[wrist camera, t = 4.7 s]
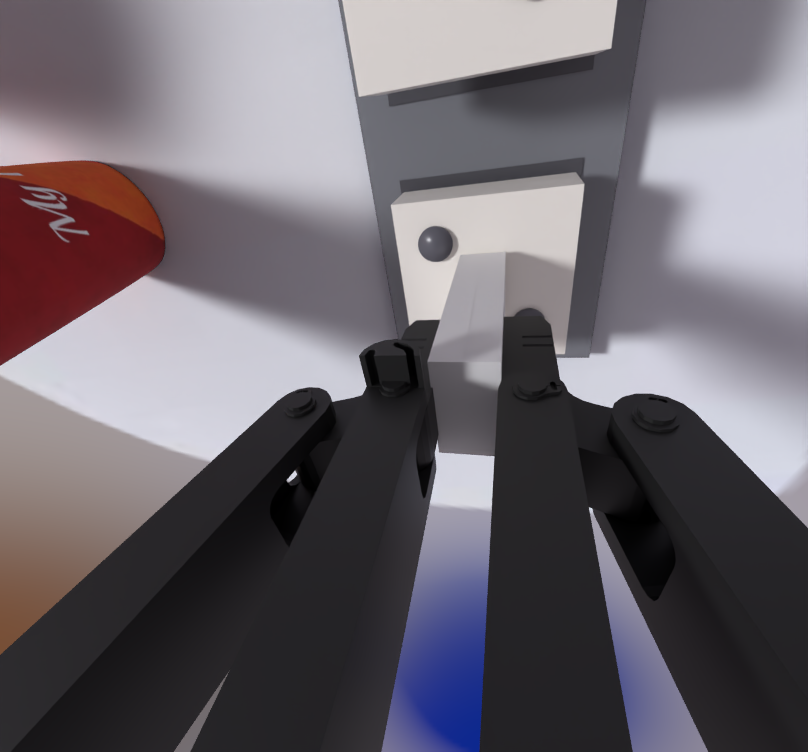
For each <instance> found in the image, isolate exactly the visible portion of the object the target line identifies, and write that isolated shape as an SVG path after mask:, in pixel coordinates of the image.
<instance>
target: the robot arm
mask: <svg viewBox="0 0 808 752" xmlns="http://www.w3.org/2000/svg"><path fill="white" fill-rule="evenodd" d="M505 259H506V252H496V253H481V254H467V255H460V258H459V261H458V264H457V268H456V271H455V274H454V277H453V281H452V284H451V287H450V290H449V294H448V297H447V300H446V303H445V307H444V310H443V313H442V316H441V319H440V320H416V321H415V322H413V323H412V324H411V325H410V326H409V327H407V328H406V329H405V331H404V334H403V336H402V338H401V340H400V339H393V340H385V341H382V342H378V343H375V344H373V345H371V346H369V347H368V348H366V349H364V351H363V352H362V353H361V354H360V355H359V358H360V362H361V366H362V370H363V374H364V377H365V381H366V385H367V387H366V389H365V391H364V393H363V395H362V396H358V397H355V398H350V399H345V400H340V401H335V402H332V400H331V397H330V395H329V394H328V393H327V391H325V390H323V389H320V388H311V387H309V388H303V389H298V390H296V391H293V392H291V393H289V394H287V395H285V396H284V397H283V398H281V399H280V400H278V401H277V402H276V403H275V404H274V405H273V406H272V407H271V408H270V409H269V410H267V411H266V412H265V413H264V414H263V415H262V416H261V417H260V418H259V419H258V420H257V421H255V422H254V423H253V424H252V425H251V426H250V427H249V428H248V429H247V430H246V431H245V432H243V433H242V434H241V435H240V436H239V437H238V438H237V439H236V440H235V441H234V442H233V443H231V444H230V445H229V446H228V447H227V448H226V449H225V450H224V451H223V452H222V453H220V454H219V455H218V456H217V457H216V458H215V459H214V460H213V461H212V462H211V463H210V464H208V466H206V467H205V468H204V469H203V470H202V471H201V472H200V473H199V474H198V475H197V476H195V477H194V478H193V479H192V480H191V481H190V482H189V483H188V484H187V485H186V486H184V487H183V488H182V489H181V490H180V491H179V492H178V493H177V494H176V495H175V496H173V497H172V498H171V499H170V500H169V501H168V502H167V503H166V504H165V505H164V506H163V507H162V508H160V509H159V510H158V511H157V512H156V513H155V514H154V515H153V516H152V517H151V518H149V519H148V520H147V521H146V522H145V523H144V524H143V525H142V526H141V527H140V528H138V529H137V530H136V531H135V532H134V533H133V534H132V535H131V536H130V537H129V538H128V539H126V541H124V542H123V543H122V544H121V545H120V546H119V547H118V548H117V549H116V550H114V551H113V552H112V553H111V554H110V555H109V556H108V557H107V558H106V559H105V560H103V561H102V562H101V563H100V564H99V565H98V566H97V567H96V568H95V569H94V570H93V571H92V572H90V573H89V574H88V575H87V576H86V577H85V578H84V579H83V580H82V581H81V582H79V583H78V585H76V586H75V587H74V588H73V589H72V590H71V591H70V592H69V593H67V594H66V595H65V596H64V597H63V598H62V599H61V600H60V601H59V602H58V603H56V604H55V605H54V606H53V607H52V608H51V609H50V610H49V611H48V612H47V613H46V614H44V615H43V616H42V617H41V618H40V619H39V620H38V621H37V622H36V623H35V624H34V625H32V626H31V627H30V628H29V629H28V630H27V631H26V632H25V633H24V634H23V635H22V636H20V638H18V639H17V640H16V641H15V642H14V643H13V644H12V645H11V646H9V647H8V648H7V649H6V650H5V651H4V652H3V653H2V654H1V655H0V752H174V750H175V749H176V747H177V746H178V745H179V743H180V742H181V740H182V739H183V737H184V736H185V734H186V733H187V731H188V730H189V728H190V727H191V726H192V724H193V723H194V721H195V720H196V718H197V717H198V715H199V714H200V712H201V711H202V710H203V708H204V707H205V705H206V704H207V702H208V701H209V699H210V698H211V696H212V695H213V693H214V692H215V691H216V689H217V688H218V686H219V685H220V683H221V682H222V680H223V679H224V678H225V676H226V675H227V673H228V672H229V673H228V675H227V677H226V679H225V682H224V683H223V685H222V687H221V690H220V692H219V694H218V696H217V698H216V700H215V702H214V704H213V706H212V708H211V710H210V712H209V714H208V717H207V719H206V721H205V723H204V725H203V727H202V729H201V731H200V734H199V735H198V737H197V739H196V742H195V744H194V746H193V748H192V750H191V752H381V750H382V745H383V740H384V735H385V730H386V725H387V719H388V714H389V709H390V704H391V699H392V693H393V689H394V684H395V679H396V673H397V668H398V663H399V658H400V653H401V648H402V642H403V638H404V632H405V627H406V622H407V617H408V612H409V606H410V602H411V597H412V591H413V586H414V581H415V575H416V571H417V566H418V560H419V555H420V550H421V545H422V540H423V535H424V530H425V525H426V520H427V514H428V509H429V504H430V499H431V494H432V489H433V484H434V479H435V473H436V460H435V449H436V444H437V439H438V447H439V452H442V453H456V454H471V455H486V456H495V458H494V478H493V497H492V518H491V538H490V556H489V557H490V558H489V576H488V596H487V615H486V636H485V654H484V674H483V693H482V694H483V695H482V713H481V714H482V715H481V733H480V752H633V751H632V745H631V740H630V734H629V729H628V723H627V718H626V712H625V706H624V701H623V695H622V690H621V685H620V679H619V674H618V668H617V662H616V656H615V652H614V646H613V640H612V635H611V629H610V623H609V617H608V612H607V607H606V601H605V595H604V590H603V584H602V578H601V573H600V567H599V562H598V557H597V551H596V545H595V540H594V534H593V529H592V523H591V517H590V512H589V507H590V508H592V509H593V513H594V515H595V518H596V520H597V522H598V524H599V526H600V528H601V530H602V532H603V534H604V536H605V538H606V540H607V542H608V545H609V547H610V549H611V551H612V553H613V555H614V557H615V559H616V561H617V563H618V565H619V567H620V569H621V571H622V574H623V575H624V578H625V580H626V582H627V584H628V586H629V588H630V590H631V592H632V594H633V596H634V598H635V601H636V603H637V605H638V607H639V609H640V611H641V613H642V615H643V617H644V619H645V621H646V623H647V625H648V628H649V630H650V632H651V634H652V636H653V638H654V640H655V642H656V644H657V646H658V648H659V650H660V652H661V654H662V657H663V659H664V661H665V663H666V665H667V667H668V669H669V671H670V673H671V675H672V677H673V679H674V681H675V683H676V686H677V688H678V690H679V692H680V694H681V696H682V698H683V700H684V702H685V704H686V706H687V708H688V710H689V712H690V715H691V717H692V719H693V721H694V723H695V725H696V727H697V729H698V731H699V733H700V735H701V737H702V740H703V742H704V744H705V746H706V748H707V750H708V752H808V528H807V527H806V526H805V525H804V524H803V523H802V522H801V521H800V520H799V519H798V518H797V517H796V516H795V514H794V513H793V512H792V511H791V510H790V509H789V508H788V507H787V506H786V505H785V504H784V503H783V502H782V501H781V500H780V499H779V498H778V497H777V496H776V495H775V494H774V493H773V492H772V491H771V490H770V489H769V488H768V487H767V486H766V485H765V484H764V483H763V482H762V481H761V480H760V479H759V478H758V477H757V475H756V474H755V473H754V472H753V471H752V470H751V469H750V468H749V467H748V466H747V465H746V464H745V463H744V462H743V461H742V460H741V459H740V458H739V457H738V456H737V455H736V454H735V453H734V452H733V451H732V450H731V449H730V448H729V447H728V446H727V445H726V444H725V443H724V442H723V441H722V440H721V439H720V438H719V437H718V436H717V435H716V433H715V432H714V431H713V430H712V429H711V428H710V427H709V426H708V425H707V424H706V423H705V422H704V421H703V420H702V419H701V418H700V417H699V416H698V415H697V414H696V413H695V412H694V411H692V410H691V409H690V408H688V407H687V406H685V405H684V404H682V403H680V402H678V401H675V400H673V399H671V398H668V397H664V396H659V395H654V394H633V395H629V396H625V397H622V398H621V399H619V400H618V401H617V402H616V403H614V406H613V408H609V407H604V406H600V405H596V404H592V403H589V402H586V401H583V400H581V399H579V398H577V397H574V396H573V395H572V394H570V393H569V392H568V390H567V388H566V386H565V384H564V383H563V382H562V381H561V380H560V377H559V371H558V365H557V359H556V353H555V347H554V341H553V335H552V329H551V324H550V323H548V322H547V321H546V320H545V319H544V318H543V317H542V316H513V317H505ZM294 471H296V473H297V476H296V477H295V478H294V479H293V480H292V481H290V482H287V481H286V480H287V479H288V478H289V477H290V475H291V474H292V473H293V472H294ZM229 670H230V671H229Z"/></svg>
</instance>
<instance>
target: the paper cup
mask: <svg viewBox="0 0 808 752" xmlns="http://www.w3.org/2000/svg"><path fill="white" fill-rule="evenodd" d="M164 252H165V237H164V232H163V229H162V226H161V223H160V220H159V218H158V216H157V214H156V212H155V210H154V209H153V207H152V205H151V204H150V202H149V201H148V199H147V198H146V197H145V196H144V194H143V193H142V192H141V191H140V190H139V189H138V187H137V186H136V185H135V184H134V183H132V182H131V181H130V180H129V179H128V178H127V177H125V176H124V175H123V174H121V173H120V172H118V171H117V170H115V169H113V168H112V167H109V166H107V165H105V164H102V163H99V162H95V161H62V162H48V163H35V164H23V165H12V166H0V365H2V364H4V363H5V362H7V361H9V360H10V359H12V358H13V357H15V356H17V355H18V354H20V353H22V352H23V351H25V350H26V349H28V348H30V347H31V346H33V345H34V344H36V343H38V342H39V341H41V340H43V339H44V338H46V337H47V336H49V335H51V334H52V333H54V332H56V331H57V330H59V329H60V328H62V327H64V326H65V325H67V324H68V323H70V322H72V321H73V320H75V319H76V318H78V317H80V316H81V315H83V314H85V313H86V312H88V311H89V310H91V309H93V308H94V307H96V306H97V305H99V304H101V303H102V302H104V301H105V300H107V299H109V298H110V297H112V296H113V295H115V294H116V293H118V292H120V291H121V290H123V289H124V288H126V287H128V286H129V285H131V284H132V283H134V282H135V281H137V280H138V279H140V278H141V277H143V276H144V275H146V274H147V273H149V272H150V271H152V270H153V269H154V268H155V267H157V266H158V265H159V263H160V262H161V261H162V259H163V256H164Z"/></svg>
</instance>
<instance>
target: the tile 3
mask: <svg viewBox="0 0 808 752" xmlns="http://www.w3.org/2000/svg"><path fill="white" fill-rule="evenodd" d="M583 193H584V182H583V181H582V180H581V178H580V177H579V176H578V174H577V173H576V172H572V173H564V174H555V175H547V176H538V177H530V178H521V179H513V180H504V181H496V182H487V183H479V184H470V185H462V186H453V187H445V188H436V189H428V190H419V191H410V192H404V193H403V194H402V195H401V196H400V197H399V198H397V199H396V200H395V201H394V202H393V203H392V204H391V210H392V216H393V223H394V229H395V235H396V242H397V248H398V255H399V261H400V268H401V274H402V281H403V287H404V294H405V300H406V307H407V313H408V320H409V326H410V325H411V324H412V323H413V322H415V321H416V320H440V319H441V316H442V313H443V310H444V307H445V303H446V300H447V297H448V294H449V290H450V287H451V284H452V281H453V277H454V274H455V271H456V268H457V264H458V261H459V258H460V255H467V254H481V253H496V252H506V259H505V317H513V316H542V317H543V318H544V319H545V320H546V321H547V322H548V323H550V324H551V329H552V335H553V341H554V347H555V353H556V354H565V349H566V340H567V331H568V323H569V314H570V305H571V297H572V288H573V279H574V271H575V262H576V254H577V245H578V236H579V228H580V219H581V210H582V202H583Z"/></svg>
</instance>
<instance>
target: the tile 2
mask: <svg viewBox="0 0 808 752" xmlns="http://www.w3.org/2000/svg"><path fill="white" fill-rule="evenodd" d="M342 2H343V8H344V14H345V20H346V25H347V31H348V37H349V43H350V49H351V54H352V60H353V66H354V72H355V77H356V83H357V89H358V95H359V97H363V96H378V95H384V94H390V93H395V92H400V91H405V90H411V89H416V88H421V87H426V86H432V85H437V84H442V83H447V82H453V81H458V80H463V79H468V78H474V77H479V76H484V75H490V74H495V73H500V72H505V71H511V70H516V69H521V68H526V67H532V66H537V65H542V64H547V63H553V62H558V61H563V60H568V59H574V58H579V57H584V56H589V55H595V54H598V53H600V52H603V51H606V50H608V49H611V46H612V38H613V30H614V22H615V15H616V7H617V0H342Z"/></svg>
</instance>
